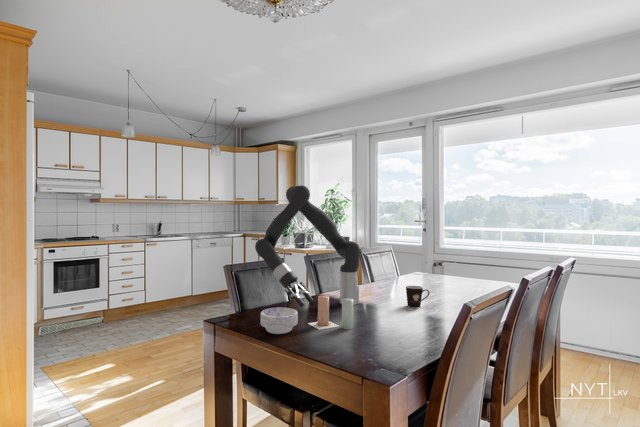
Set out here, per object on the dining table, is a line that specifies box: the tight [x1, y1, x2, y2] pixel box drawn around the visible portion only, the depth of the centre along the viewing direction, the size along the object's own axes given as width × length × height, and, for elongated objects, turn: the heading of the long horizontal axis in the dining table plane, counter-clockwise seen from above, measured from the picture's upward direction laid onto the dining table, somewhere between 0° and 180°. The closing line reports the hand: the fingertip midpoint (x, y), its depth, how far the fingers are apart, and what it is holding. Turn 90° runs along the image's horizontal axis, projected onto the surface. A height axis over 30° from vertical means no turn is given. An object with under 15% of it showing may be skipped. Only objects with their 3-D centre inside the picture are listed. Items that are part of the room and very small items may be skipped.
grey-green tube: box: [341, 298, 354, 331], centre depth 168 cm, size 5×5×12 cm
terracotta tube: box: [317, 295, 330, 326], centre depth 172 cm, size 5×5×12 cm
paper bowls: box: [260, 306, 299, 335], centre depth 164 cm, size 15×15×8 cm
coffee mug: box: [405, 285, 430, 308], centre depth 207 cm, size 12×9×10 cm
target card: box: [307, 320, 340, 331], centre depth 172 cm, size 10×10×1 cm
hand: (307, 303), depth 175 cm, fingers open, 8 cm apart
